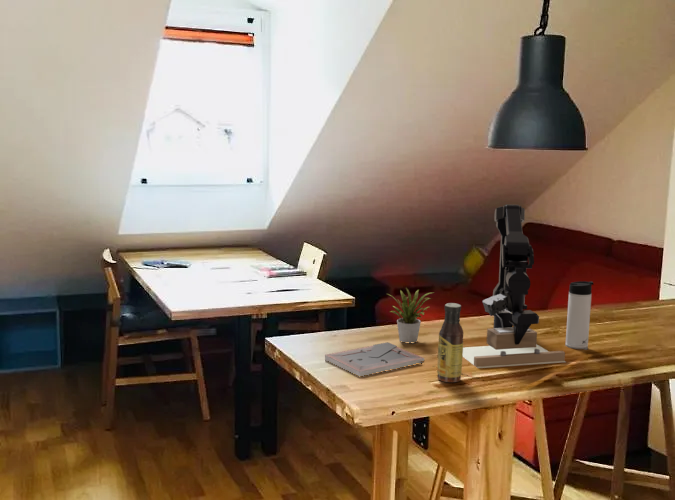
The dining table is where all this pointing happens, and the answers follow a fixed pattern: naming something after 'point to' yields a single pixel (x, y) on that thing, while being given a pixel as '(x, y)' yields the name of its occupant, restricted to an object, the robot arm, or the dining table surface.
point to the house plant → (409, 317)
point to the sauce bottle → (450, 345)
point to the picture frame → (373, 359)
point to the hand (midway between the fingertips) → (511, 340)
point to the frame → (510, 338)
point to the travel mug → (578, 314)
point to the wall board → (510, 356)
